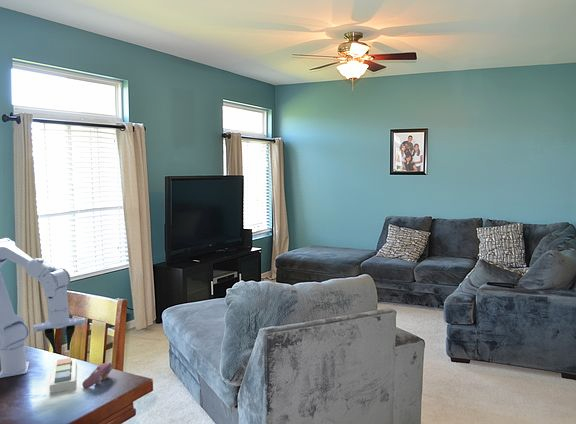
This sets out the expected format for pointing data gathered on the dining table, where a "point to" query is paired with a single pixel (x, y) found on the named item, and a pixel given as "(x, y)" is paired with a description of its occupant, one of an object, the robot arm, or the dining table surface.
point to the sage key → (63, 368)
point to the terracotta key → (64, 362)
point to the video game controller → (98, 375)
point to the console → (64, 384)
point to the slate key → (62, 376)
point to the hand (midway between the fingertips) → (61, 350)
